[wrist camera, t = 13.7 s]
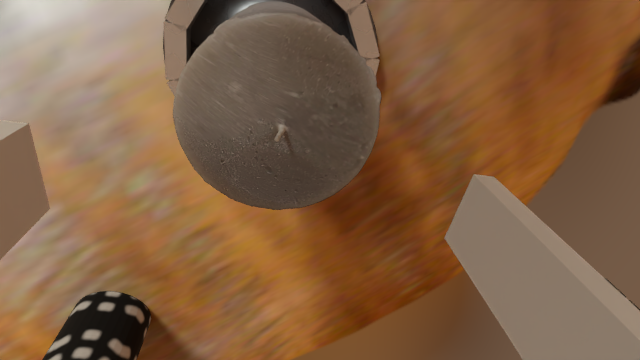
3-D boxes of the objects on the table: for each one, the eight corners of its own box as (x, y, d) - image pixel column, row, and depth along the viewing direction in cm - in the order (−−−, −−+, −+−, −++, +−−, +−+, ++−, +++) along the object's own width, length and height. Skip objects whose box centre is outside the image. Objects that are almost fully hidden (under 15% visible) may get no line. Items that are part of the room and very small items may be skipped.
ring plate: (162, -89, 23) (150, -96, 21) (399, -34, 26) (410, -35, 24) (169, 143, 31) (162, 155, 29) (350, 163, 34) (355, 176, 32)
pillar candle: (263, 142, 31) (257, 257, 18) (188, 45, 26) (107, 105, 13) (357, 83, 29) (424, 163, 16) (294, -32, 25) (320, -47, 12)
